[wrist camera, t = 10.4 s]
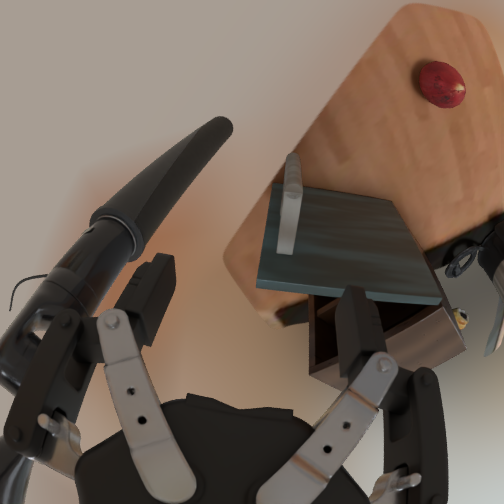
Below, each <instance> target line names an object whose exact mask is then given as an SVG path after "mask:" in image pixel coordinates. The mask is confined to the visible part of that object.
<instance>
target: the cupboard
mask: <svg viewBox="0 0 504 504" xmlns="http://www.w3.org/2000/svg"><path fill="white" fill-rule="evenodd" d="M407 228H408V227H407ZM408 230H409V229H408ZM409 232H410V230H409ZM410 233H411V232H410ZM411 235H412V233H411ZM412 237H413V239H414V241H415V242H416V244H417V246H418V248H419V250H420V252H421V254H422V256H423V257H424V259H425V261H426V263H427V265H428V267H429V269H430V272H431V274H432V276H433V278H434V280H435V282H436V284H437V286H438V289H439V291H440V293H441V295H442V300H441V301H440V303H439V305H425V304H411V303H397V302H385V301H373V302H374V303H375V305H376V306H377V308H378V312H379V316H380V320H381V326H382V328H383V333H384V337H385V342H386V347H387V351H388V353H389V354H390V355H392V356H393V357H394V358H395V360H396V361H397V364H398V366H399V367H402V368H404V369H407V370H410V371H413V372H415V371H416V370H417V369H418V368H420V367H428V368H430V369H432V368H434V367H436V366H438V365H440V364H442V363H444V362H446V361H447V360H449V359H451V358H453V357H455V356H456V355H458V354H460V353H461V352H463V351H465V350H466V349H467V348H466V345H465V342H464V339H463V336H462V334H461V331H460V328H459V326H458V323H457V321H456V318H455V316H454V313H453V311H452V309H451V306H450V304H449V302H448V299H447V297H446V295H445V293H444V290H443V288H442V286H441V284H440V282H439V280H438V278H437V276H436V274H435V272H434V270H433V268H432V266H431V264H430V262H429V260H428V258H427V256H426V254H425V253H424V251H423V250H422V248H421V247H420V245H419V244H418V242H417V241H416V239H415V238H414V236H413V235H412ZM340 299H341V297H331V296H321V295H312V294H309V375H310V376H312V377H314V378H316V379H317V380H320V381H321V382H324V383H325V384H328V385H329V386H331V387H334V388H336V389H338V390H340V391H343V390H344V388H345V387H346V386H347V385H348V378H340V373H339V359H338V346H337V335H336V325H335V311H336V308H337V305H338V303H339V301H340Z"/></svg>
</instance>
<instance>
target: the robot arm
mask: <svg viewBox="0 0 504 504" xmlns="http://www.w3.org/2000/svg"><path fill="white" fill-rule="evenodd" d="M82 234H83V235H82V236H81V237H80V238H79V239H78V240H77V241H76V243H75V244H74V245H73V246H72V247H71V248H70V249H69V250H68V252H67V253H66V254H65V255H64V256H63V258H62V259H61V260H60V261H59V262H58V263H57V265H56V266H55V267H54V268H53V270H52V271H51V272H50V273H49V274H45V275H37V276H32V277H28V278H25V279H23V280H21V281H20V282H19V283H18V284H17V285H16V286H15V288H14V290H13V293H12V298H11V304H10V310H9V311H11V307H12V301H13V296H14V292H15V290H16V288H17V287H18V286H19V284H21V283H22V282H24V281H26V280H30V279H34V278H41V277H46V278H45V279H44V281H43V282H42V283H41V285H40V286H39V287H38V289H37V290H36V291H35V293H34V294H33V296H32V297H31V298H30V299H29V301H28V302H27V303H26V305H25V306H24V308H23V309H22V310H21V312H20V313H19V314H18V316H17V317H16V318H15V320H14V321H13V322H12V323H11V325H10V326H9V327H8V329H7V330H6V332H5V333H4V334H3V336H2V337H1V339H0V385H1V386H2V387H4V388H5V389H6V390H7V391H8V392H10V393H11V394H12V395H14V396H15V398H14V401H13V403H12V406H11V409H10V411H9V415H8V417H7V420H6V423H5V426H4V433H3V434H4V435H2V436H1V437H0V504H24V503H25V497H26V492H27V487H28V483H29V479H30V475H31V470H32V467H33V464H34V461H35V462H38V463H40V464H44V465H46V466H48V467H49V468H51V469H53V470H55V471H57V472H59V473H61V474H63V475H65V476H66V477H68V478H71V479H73V480H75V484H76V487H77V491H78V496H79V504H447V501H448V453H447V440H446V429H445V421H444V413H443V407H442V400H441V394H440V388H439V382H438V378H437V376H436V374H435V373H434V371H432V370H431V369H430V368H428V367H420V368H418V369H417V370H416V371H415V372H413V371H410V370H407V369H404V368H402V367H399V366H398V364H397V361H396V360H395V358H394V357H393V356H392V355H390V354H389V353H388V351H387V347H386V342H385V337H384V333H383V328H382V326H381V320H380V316H379V312H378V308H377V306H376V305H375V303H374V302H373V300H372V299H368V298H367V297H366V293H365V289H364V287H362V286H355V285H347V286H346V288H345V290H344V292H343V295H342V297H341V299H340V301H339V303H338V305H337V308H336V311H335V325H336V335H337V346H338V359H339V373H340V378H348V385H347V386H346V387H345V388H344V390H343V391H342V392H341V394H340V395H339V396H338V397H337V399H336V400H335V401H334V402H333V404H332V405H331V406H330V407H329V408H328V410H327V411H326V412H325V413H324V414H323V415H322V417H321V418H320V419H319V420H318V421H317V422H316V423H315V424H314V425H313V426H311V425H309V424H308V423H307V422H305V421H303V420H302V419H300V418H297V417H295V416H293V410H292V409H281V408H272V407H263V408H253V409H237V408H234V407H232V406H229V405H227V404H224V403H222V402H220V401H218V400H216V399H213V398H209V397H204V396H199V395H195V394H190V393H187V396H186V399H176V400H171V401H168V402H165V403H163V404H161V403H160V400H159V398H158V396H157V394H156V391H155V389H154V386H153V384H152V382H151V379H150V376H149V374H148V371H147V369H146V366H145V363H144V361H143V358H142V355H141V349H142V347H143V345H146V346H150V347H151V346H152V343H153V341H154V338H155V336H156V333H157V331H158V328H159V326H160V324H161V321H162V319H163V317H164V314H165V312H166V310H167V307H168V305H169V303H170V300H171V298H172V296H173V293H174V291H175V286H176V272H175V260H174V256H173V255H168V254H163V253H157V254H156V255H155V257H154V259H153V261H152V262H145V263H143V264H142V265H141V266H139V267H138V268H137V269H136V271H135V273H134V274H133V276H132V278H131V279H130V281H129V283H128V284H127V286H126V287H125V289H124V291H123V292H122V294H121V296H120V297H119V299H118V301H117V303H116V304H115V306H114V308H113V309H108V310H106V311H104V312H103V313H101V314H100V316H99V317H92V316H93V315H94V313H95V311H96V310H97V308H98V306H99V305H100V303H101V301H102V300H103V298H104V296H105V295H106V293H107V292H108V290H109V289H110V287H111V286H112V284H113V282H114V281H115V279H116V278H117V276H118V275H119V273H120V272H121V270H122V269H123V267H124V266H125V265H126V263H127V262H128V260H129V259H130V257H131V256H132V255H133V254H134V252H135V251H136V248H137V239H136V236H135V234H134V232H133V230H132V228H131V227H130V226H129V225H128V224H127V223H126V222H125V221H124V220H123V219H121V218H119V217H117V216H115V215H111V214H105V215H102V216H100V217H99V218H98V219H97V220H96V221H95V222H94V223H93V225H92V226H91V227H90V228H88V229H86V230H85V231H84V232H83V233H82ZM38 330H42V331H43V330H44V331H46V333H45V335H44V337H43V339H42V340H41V339H40V338H39V337H38V336H37V335H35V334H34V332H35V331H38ZM97 363H105V366H104V372H105V375H106V380H107V383H108V387H109V390H110V393H111V397H112V400H113V403H114V406H115V409H116V412H117V415H118V418H119V421H120V424H121V427H122V430H120V431H119V432H117V433H115V434H114V435H112V436H111V437H109V438H107V439H106V440H104V441H103V442H101V443H99V444H97V445H96V446H94V447H92V448H91V449H89V450H87V451H86V452H84V453H82V452H81V448H80V439H81V436H80V432H79V429H78V428H77V426H76V425H75V423H76V420H77V417H78V413H79V411H80V408H81V405H82V402H83V399H84V396H85V393H86V391H87V388H88V385H89V383H90V380H91V377H92V375H93V372H94V369H95V367H96V364H97ZM378 408H380V409H383V417H384V419H383V420H384V472H383V475H382V476H380V477H379V478H378V479H377V481H376V483H375V486H374V488H373V492H372V494H371V496H370V497H369V498H368V497H367V495H366V494H365V493H364V491H363V490H362V489H361V488H360V487H359V485H358V484H357V483H356V482H355V481H354V479H353V478H352V477H351V476H350V474H349V473H348V472H347V471H346V469H345V468H344V467H343V465H342V464H343V463H344V461H345V460H346V459H347V457H348V456H349V454H350V453H351V452H352V451H353V449H354V448H355V447H356V445H357V444H358V443H359V441H360V440H361V438H362V437H363V435H364V434H365V432H366V431H367V430H368V428H369V427H370V425H371V424H372V422H373V420H374V419H375V417H376V416H377V414H378V411H379V410H378Z"/></svg>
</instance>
